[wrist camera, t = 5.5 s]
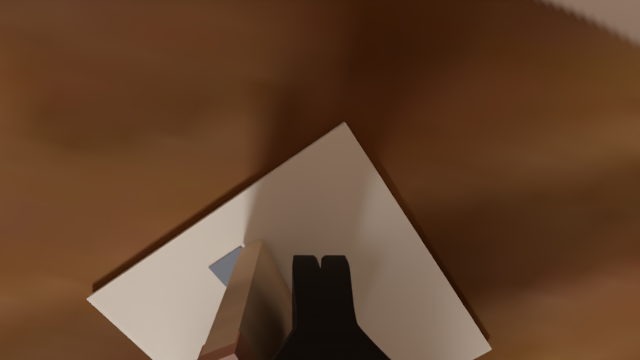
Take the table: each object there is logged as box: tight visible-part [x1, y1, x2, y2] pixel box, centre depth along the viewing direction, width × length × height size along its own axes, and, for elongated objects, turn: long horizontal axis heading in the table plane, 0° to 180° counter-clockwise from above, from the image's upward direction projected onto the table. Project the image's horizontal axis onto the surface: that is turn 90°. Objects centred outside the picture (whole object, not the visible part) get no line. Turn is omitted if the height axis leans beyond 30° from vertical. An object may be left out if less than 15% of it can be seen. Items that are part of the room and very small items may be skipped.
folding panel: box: [197, 240, 292, 360], centre depth 9 cm, size 5×1×5 cm, turn 23°
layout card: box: [87, 122, 492, 360], centre depth 12 cm, size 11×11×1 cm
